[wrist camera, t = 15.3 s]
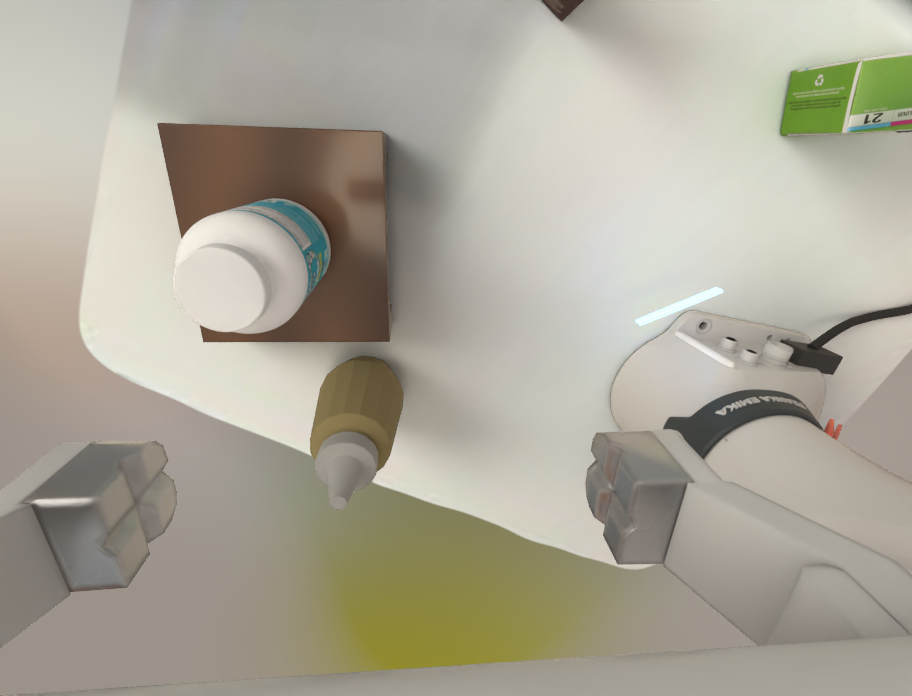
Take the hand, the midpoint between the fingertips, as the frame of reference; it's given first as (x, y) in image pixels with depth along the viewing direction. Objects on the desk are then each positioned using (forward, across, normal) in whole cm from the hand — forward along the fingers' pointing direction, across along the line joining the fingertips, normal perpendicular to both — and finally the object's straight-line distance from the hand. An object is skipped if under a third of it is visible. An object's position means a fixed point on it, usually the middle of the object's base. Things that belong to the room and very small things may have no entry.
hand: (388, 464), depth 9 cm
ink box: (+35, +38, +11) cm, 53 cm away
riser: (+35, -10, -2) cm, 37 cm away
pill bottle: (+30, -10, -2) cm, 32 cm away
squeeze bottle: (+35, -5, -16) cm, 39 cm away
